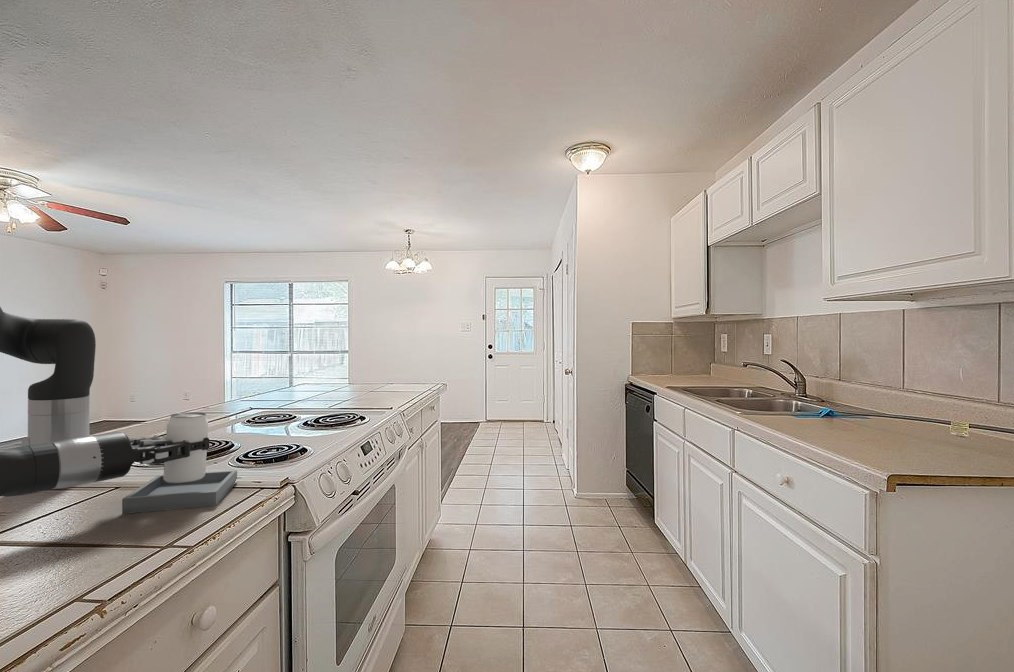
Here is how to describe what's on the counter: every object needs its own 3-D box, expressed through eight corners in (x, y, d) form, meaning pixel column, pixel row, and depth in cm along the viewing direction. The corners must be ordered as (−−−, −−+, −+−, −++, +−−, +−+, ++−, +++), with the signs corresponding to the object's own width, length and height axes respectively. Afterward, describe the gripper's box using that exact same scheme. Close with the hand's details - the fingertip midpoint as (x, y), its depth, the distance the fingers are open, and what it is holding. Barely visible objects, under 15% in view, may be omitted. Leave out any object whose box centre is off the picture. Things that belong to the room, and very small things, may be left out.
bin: (122, 513, 80) (122, 498, 80) (157, 488, 94) (157, 475, 94) (215, 505, 84) (216, 491, 84) (237, 482, 98) (237, 470, 98)
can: (183, 485, 85) (188, 418, 85) (153, 481, 86) (158, 415, 86) (213, 476, 91) (217, 413, 91) (185, 473, 92) (189, 411, 92)
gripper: (109, 440, 73) (221, 425, 87) (69, 431, 80) (179, 418, 94) (108, 490, 73) (220, 465, 87) (68, 476, 80) (178, 456, 94)
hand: (198, 441), depth 91 cm, fingers closed on can, 5 cm apart
